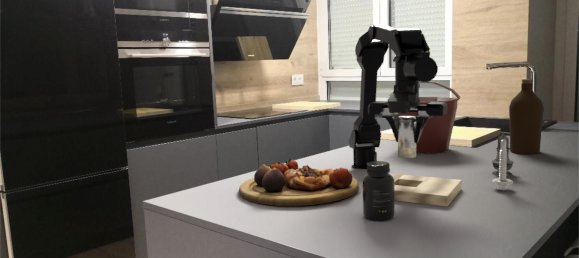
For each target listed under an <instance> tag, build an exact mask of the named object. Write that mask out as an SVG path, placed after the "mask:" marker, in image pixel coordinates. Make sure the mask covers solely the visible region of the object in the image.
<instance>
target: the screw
mask: <svg viewBox="0 0 579 258" xmlns="http://www.w3.org/2000/svg"><path fill="white" fill-rule="evenodd" d="M506 150H507V149H506V140H504V139H503V140H501V149H500V157H499V158H500V159H499V160H500V164H499V165H500V166H499V167H500V168H499V169H500V171H499V176H498V177H495V178H493V179H492V181H491V183H493V184H495V186H496V189H497V190H498V191H502V192H503V191H504V192H505V191H508V190H509V186H511V185H513V184H514V182H513V180H512V179H510V178H507V176H506V175H507V174H506V173H507V172H506V171H507V170H506V168H507V167H506V166H507V165H506V164H507V163H506V162H507V161H506V159H507V158H506V157H507V156H506V155H507V154H506V153H507V151H506Z"/></svg>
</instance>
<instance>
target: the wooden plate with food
mask: <svg viewBox="0 0 579 258" xmlns="http://www.w3.org/2000/svg"><path fill="white" fill-rule="evenodd" d="M359 188H360V185H359V181H358V180H357V179H356V178H355V177H353V175H352V173H351V172H350V170H349V169H348V168H346V167H339V168H335V169H332V168H324V169H319V168H313V167H312V168H311V167H310V165H308V164H307V165H303V166H302V167H299V164H298V162H297V161H296V160H295V159H294V158H289V159H288V160H286V161H285V163H284V162H280V161H279V162H278V161H277V162H273V163H272V164H271V165H266V164H264V163H263V164H262V165H261V166H259V167H258V168H257V170H256V171H255V173H254V175H253V177H252V178H250V179H248V180H246V181H245V180H244V182H242V183H241V184H240V185H239V189H238V192H239V195H240V196H241V198H243V199H244V200H247V201H250V202H253V203H256V204H262V205H266V206H267V205H268V206H277V207H278V206H279V207H293V206H295V207H297V206H311V205H312V206H313V205H321V204H327V203H332V202H337V201H341V200H344V199H347V198H349V197H351V196H353V195H354V194H356V193H357V192H358V191H359Z"/></svg>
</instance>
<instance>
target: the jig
mask: <svg viewBox="0 0 579 258" xmlns="http://www.w3.org/2000/svg"><path fill="white" fill-rule="evenodd" d="M390 175H391V176H393V178H394V184H395V202H396V201H397V202H404V203H405V202H406V203H414V204H424V205H431V206H440V207H441V206H442V207H448V206H449V205H450V204H451V203H452V202H453V201H454V199H455V198H456V197H457V196H458V194H459V193H460V192H461V190H462V179H455V178H447V177H446V178H444V177H434V176H433V177H432V176H423V175H422V176H421V175H413V174H412V175H410V174H401V173H400V174H399V173H392V174H390Z"/></svg>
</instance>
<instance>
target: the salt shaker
mask: <svg viewBox="0 0 579 258" xmlns="http://www.w3.org/2000/svg"><path fill="white" fill-rule="evenodd" d="M503 139H504V140H506V149H507V150H506V151H507V153H506V154H507V155H506V156H507V157H506V158H507V159H506V161H507V162H506V163H507V164H506V165H507V166H506V167H507V168H506V170H507V171H506V172H507V173H506V174H507V175H506V177H510V176H513V173H512V172H511V171H510V170H511V169H513V164H514V163H515V162H514V160H511V159H510V157H509V156H510V155H509V154H510V152H509V151H510V137H508V136H507V135H505V133H504V132H502V134H501V136H498V137H497V147H496V148H495V149H496V150H497V151H496V158H495V159H493V160H491V164H492V167H493V168H494V169H495V171H493V172H492V173H491V174H492V175H494V176H497V175H498V177H499V171H500V169H499V168H500V167H499V166H500V165H499V164H500V160H499V159H500V158H499V157H500V149H501V140H503Z"/></svg>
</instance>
